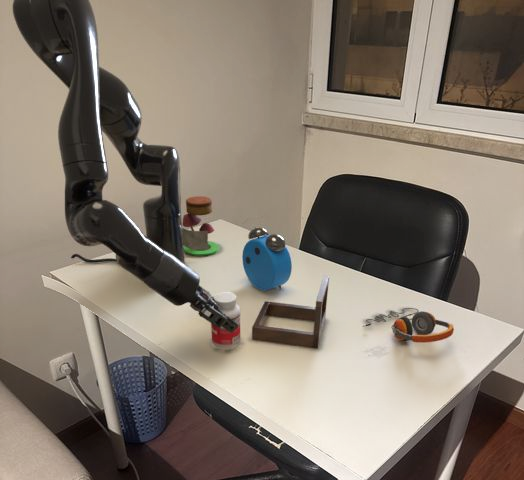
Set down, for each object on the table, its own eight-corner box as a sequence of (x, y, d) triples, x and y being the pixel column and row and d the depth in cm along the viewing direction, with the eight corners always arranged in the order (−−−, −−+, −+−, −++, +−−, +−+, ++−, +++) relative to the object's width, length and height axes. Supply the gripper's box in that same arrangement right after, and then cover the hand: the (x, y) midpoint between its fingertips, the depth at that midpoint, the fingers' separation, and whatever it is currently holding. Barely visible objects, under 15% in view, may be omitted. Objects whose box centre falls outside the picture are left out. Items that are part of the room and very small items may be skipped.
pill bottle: (211, 336, 110) (209, 290, 104) (239, 335, 110) (239, 289, 104) (211, 351, 105) (210, 304, 99) (241, 350, 105) (241, 303, 99)
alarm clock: (291, 292, 129) (294, 236, 120) (273, 299, 125) (274, 241, 117) (259, 275, 137) (259, 221, 129) (241, 281, 134) (240, 226, 125)
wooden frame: (252, 339, 109) (252, 293, 103) (264, 313, 119) (265, 269, 113) (317, 348, 107) (322, 301, 100) (325, 320, 117) (329, 276, 111)
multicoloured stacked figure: (191, 239, 159) (188, 191, 150) (227, 245, 155) (225, 197, 146) (171, 252, 149) (166, 202, 141) (208, 259, 145) (206, 208, 137)
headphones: (408, 296, 122) (474, 314, 105) (407, 316, 124) (473, 338, 107) (351, 311, 115) (412, 333, 98) (352, 332, 117) (412, 358, 100)
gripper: (148, 276, 101) (207, 318, 111) (164, 308, 90) (228, 351, 100) (172, 248, 100) (230, 293, 110) (192, 277, 89) (254, 324, 99)
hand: (229, 320), depth 105 cm, fingers closed on pill bottle, 6 cm apart
